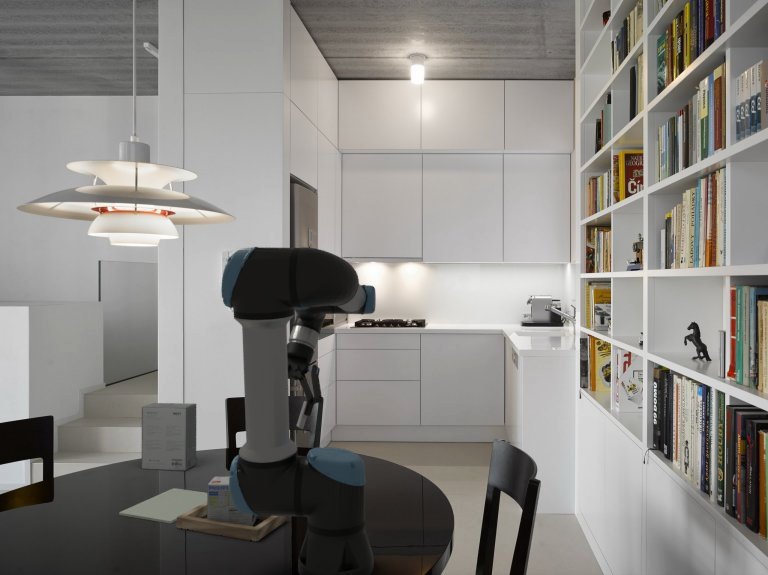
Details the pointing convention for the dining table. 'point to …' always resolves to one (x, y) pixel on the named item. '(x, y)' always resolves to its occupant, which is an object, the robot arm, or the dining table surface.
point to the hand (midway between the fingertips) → (276, 422)
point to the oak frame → (227, 525)
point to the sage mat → (166, 505)
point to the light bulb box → (224, 504)
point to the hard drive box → (169, 436)
